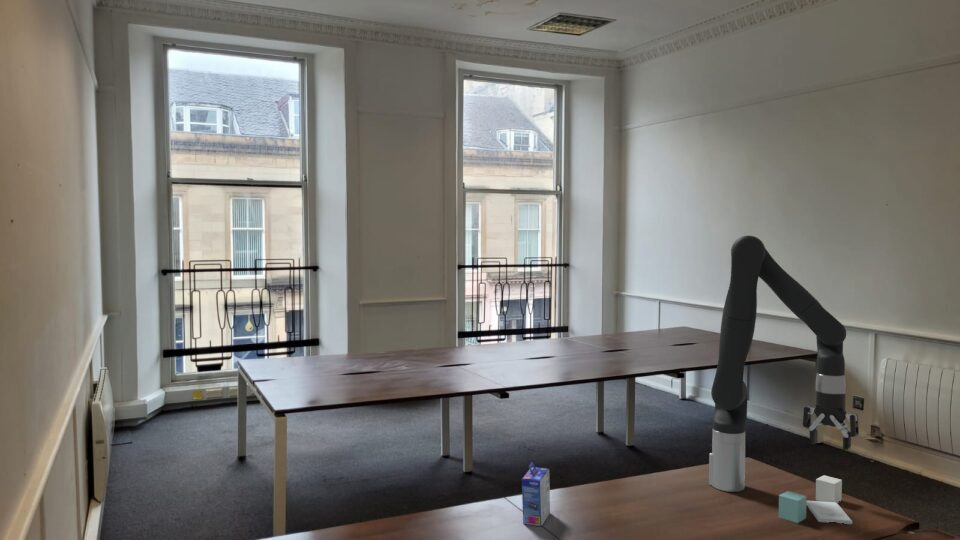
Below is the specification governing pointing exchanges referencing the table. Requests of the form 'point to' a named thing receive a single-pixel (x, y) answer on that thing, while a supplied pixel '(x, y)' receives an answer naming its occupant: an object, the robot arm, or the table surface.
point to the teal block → (792, 506)
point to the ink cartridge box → (535, 495)
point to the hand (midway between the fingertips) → (829, 446)
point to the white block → (828, 489)
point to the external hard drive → (828, 512)
